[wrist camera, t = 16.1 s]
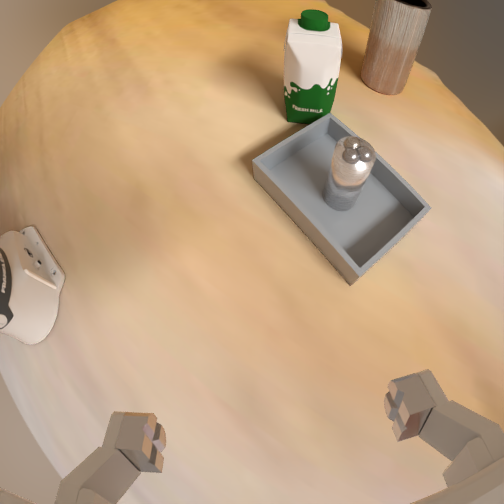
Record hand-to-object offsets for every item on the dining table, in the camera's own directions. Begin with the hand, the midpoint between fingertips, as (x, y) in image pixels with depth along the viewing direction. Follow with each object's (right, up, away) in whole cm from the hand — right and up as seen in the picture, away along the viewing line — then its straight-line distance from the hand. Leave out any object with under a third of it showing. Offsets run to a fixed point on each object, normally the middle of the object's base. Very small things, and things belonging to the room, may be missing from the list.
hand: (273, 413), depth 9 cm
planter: (+27, +42, +46) cm, 68 cm away
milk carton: (+10, +31, +43) cm, 54 cm away
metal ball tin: (+13, +14, +36) cm, 40 cm away
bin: (+13, +14, +37) cm, 41 cm away
